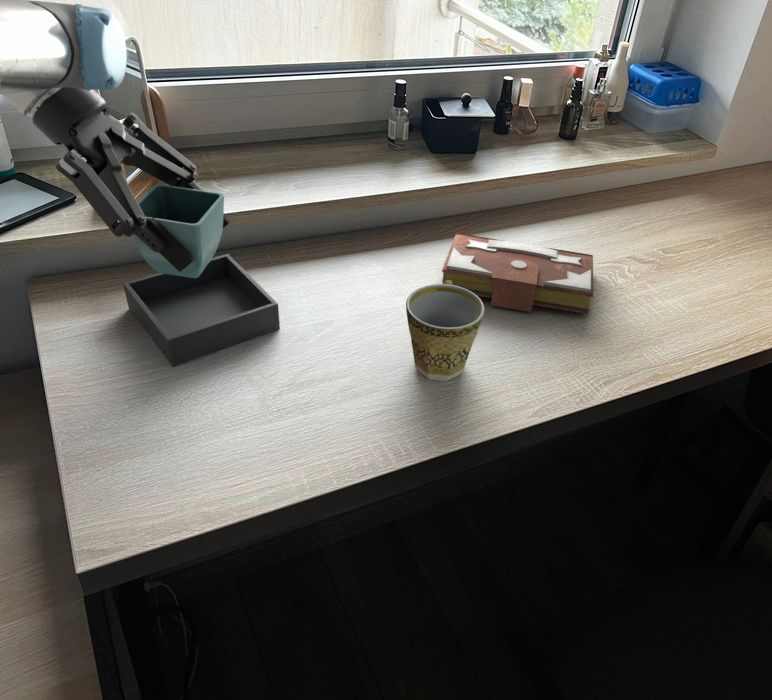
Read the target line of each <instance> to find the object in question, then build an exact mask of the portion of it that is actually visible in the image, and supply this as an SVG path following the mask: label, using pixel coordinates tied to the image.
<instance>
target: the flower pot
mask: <svg viewBox="0 0 772 700" xmlns="http://www.w3.org/2000/svg"><path fill="white" fill-rule="evenodd" d="M137 202H138V204H139V206H140V208H141V210H142V212H143V214H144V216H145V217H146V223H147V222H148V221H149V220H150V219H151V218H152V217H153V218H154V219H155V220H156V221H157V222H158V223H160V224H161V225H162V226H163V227H164V228H165V229H166V230H167V231H168V232H169V233H170V234H171V235H172V236H173V237H174V238H175V239H176V240H177V241H178V242H179V243H180V244H181V245H183V246H184V247H185V248H186V249H187V250H188V251H189V252H190V253H191V254H192V255H193V256H194V257H195V258H196V259H195V260H194V261H193V262H192V263H191V264H189V265H188V266H187V267H186V268H185V269H183V270H182V271H181V272H179V271H178V270H177V269H176V268H175V267H174V266H173V265H172V264H171V263H170V262H168V261H167V260H166V259H165V258H164V257H163V256H162V255H161V254H160V253H159V252H157V253H156V252H154V251H153V250H152V249H150V248H149V246H147V245H146V244H145V243H144V242H143V241H142V240H141V239H140V238H139V237H138V236H137V235H135V234H133V235H132V238H133V240H134V243H135V247H136V248H137V250H138V252H139V254H140V255H141V257H142V258H143V260H144V261H145V262H146V263H147V264H148V265H149V266H150V267H151V268H152V269H154V270H155V271H156V272H157V273H163V274H170V275H177V276H183V277H190V278H197V277H199V276H200V274H201V273H202V271H203V270H204V269H205V267H206V266H207V265H208V263H209V262H210V261H211V259H212V258H214V257H215V256H214V255H215V253H216V252H217V249H218V248H219V245H220V242H221V239H222V236H223V230H224V228H223V214H225V213H224V211H225V210H224V209H225V207H224V206H225V194H224V193H222V192H217V191H211V190H210V191H209V190H204V189H202V190H196V189H189V188H183V187H176V186H170V185H168V184H162V183H161V184H156V185H154V186H152V188H150V189H149V191H147V192H146V194H144V196H143V197H141V199H140V200H138V201H137ZM132 217H133V216H132Z"/></svg>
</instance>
